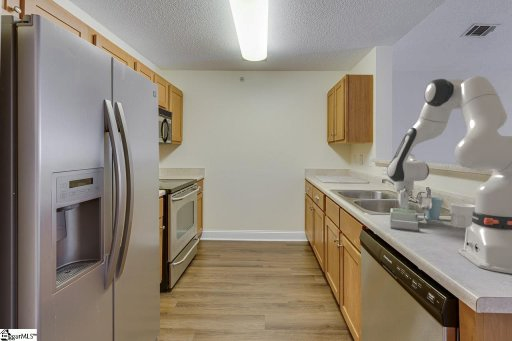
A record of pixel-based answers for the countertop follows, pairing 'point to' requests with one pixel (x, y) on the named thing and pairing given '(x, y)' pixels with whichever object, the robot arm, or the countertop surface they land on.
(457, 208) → the cup
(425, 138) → the robot arm
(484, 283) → the countertop surface
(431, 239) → the countertop surface
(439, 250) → the countertop surface
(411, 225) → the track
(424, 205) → the wineglass
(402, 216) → the grey green box
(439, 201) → the cup
